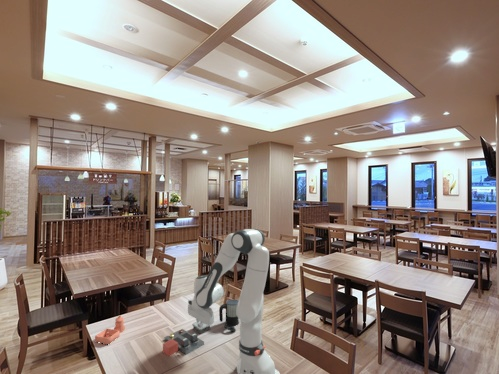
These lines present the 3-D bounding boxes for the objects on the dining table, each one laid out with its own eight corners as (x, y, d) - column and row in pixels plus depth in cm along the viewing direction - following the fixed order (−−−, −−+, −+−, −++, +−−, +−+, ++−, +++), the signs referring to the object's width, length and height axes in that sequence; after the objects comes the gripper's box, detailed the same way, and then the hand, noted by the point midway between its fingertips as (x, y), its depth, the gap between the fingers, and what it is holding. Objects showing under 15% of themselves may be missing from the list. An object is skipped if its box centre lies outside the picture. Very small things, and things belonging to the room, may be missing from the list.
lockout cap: (178, 351, 146) (178, 343, 146) (168, 356, 141) (168, 347, 141) (172, 347, 150) (172, 339, 150) (162, 351, 145) (162, 343, 145)
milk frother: (235, 318, 184) (235, 297, 184) (246, 328, 170) (246, 306, 171) (216, 324, 176) (217, 302, 176) (227, 335, 163) (228, 311, 163)
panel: (204, 344, 152) (204, 340, 153) (185, 354, 143) (185, 350, 143) (182, 331, 167) (182, 327, 167) (164, 339, 157) (164, 336, 157)
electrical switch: (200, 329, 162) (192, 321, 168) (199, 336, 162) (191, 328, 169) (212, 323, 169) (203, 316, 175) (210, 331, 169) (202, 323, 176)
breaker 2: (197, 339, 154) (197, 334, 154) (193, 341, 152) (193, 336, 152) (194, 337, 156) (194, 332, 156) (190, 339, 154) (190, 334, 154)
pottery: (108, 345, 151) (108, 328, 151) (94, 343, 153) (95, 326, 153) (129, 329, 168) (129, 314, 169) (117, 327, 171) (117, 313, 171)
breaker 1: (188, 344, 149) (188, 339, 149) (184, 346, 147) (184, 341, 147) (185, 342, 151) (185, 337, 151) (181, 344, 149) (181, 339, 149)
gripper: (216, 307, 146) (216, 331, 146) (194, 296, 160) (193, 319, 159) (208, 311, 141) (207, 336, 141) (186, 299, 155) (185, 322, 155)
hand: (200, 327), depth 150 cm, fingers closed
